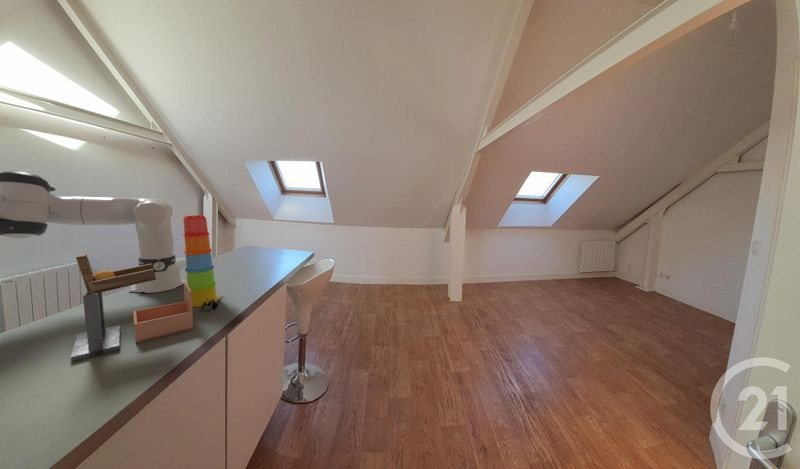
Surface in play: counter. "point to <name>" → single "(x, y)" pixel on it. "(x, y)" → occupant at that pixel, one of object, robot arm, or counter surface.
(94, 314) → the lever stand
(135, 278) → the lever
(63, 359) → the counter surface
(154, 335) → the cup
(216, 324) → the counter surface
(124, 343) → the counter surface
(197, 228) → the stacking cups
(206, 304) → the creature
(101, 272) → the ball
